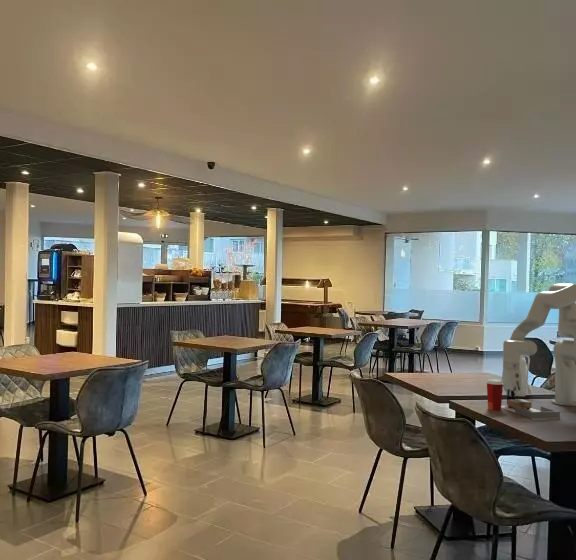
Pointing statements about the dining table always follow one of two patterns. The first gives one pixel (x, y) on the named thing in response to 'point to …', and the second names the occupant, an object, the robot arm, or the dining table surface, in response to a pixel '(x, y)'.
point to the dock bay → (535, 412)
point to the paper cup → (494, 394)
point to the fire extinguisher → (524, 377)
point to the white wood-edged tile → (519, 403)
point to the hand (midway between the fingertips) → (510, 404)
